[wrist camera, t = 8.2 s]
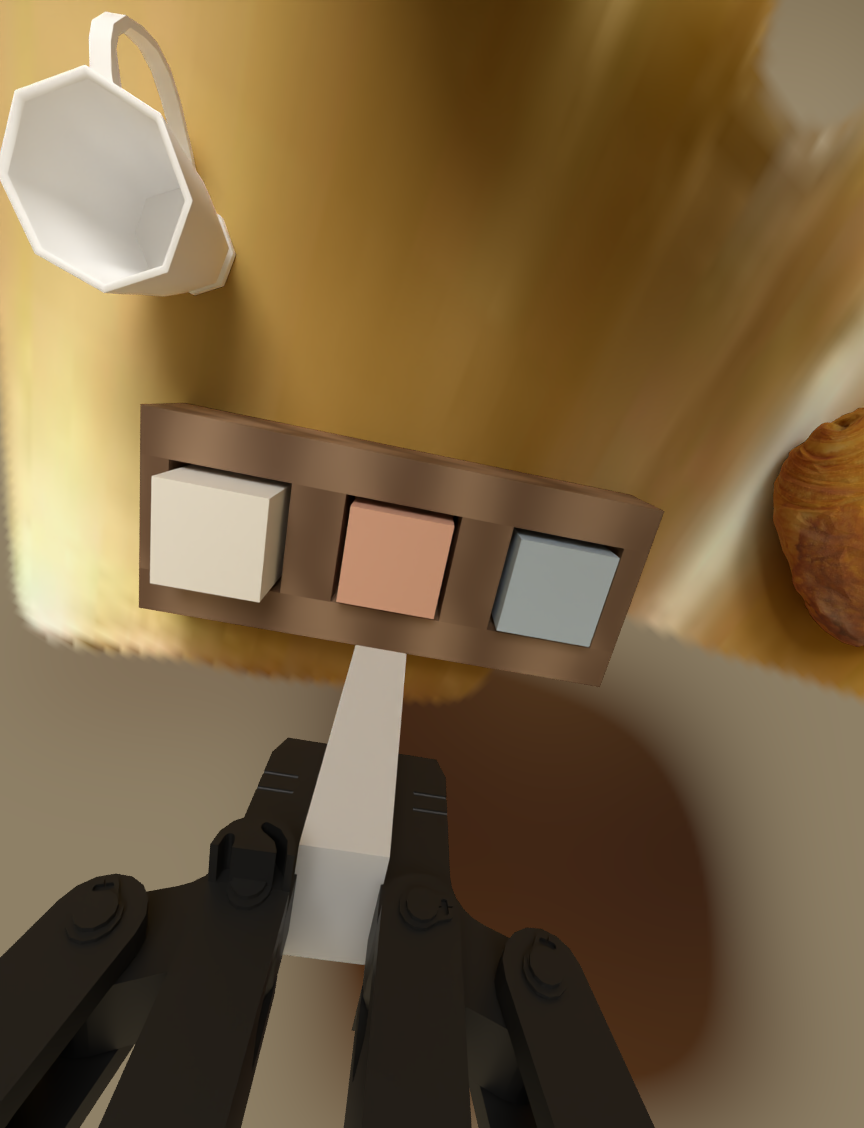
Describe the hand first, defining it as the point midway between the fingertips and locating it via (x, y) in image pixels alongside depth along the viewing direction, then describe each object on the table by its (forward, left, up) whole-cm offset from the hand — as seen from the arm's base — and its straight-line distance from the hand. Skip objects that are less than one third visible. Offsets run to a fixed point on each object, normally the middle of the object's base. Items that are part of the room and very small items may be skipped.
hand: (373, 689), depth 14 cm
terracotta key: (0, 0, -16) cm, 16 cm away
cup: (-20, +1, -17) cm, 26 cm away
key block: (0, 0, -17) cm, 17 cm away
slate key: (+7, +6, -16) cm, 19 cm away
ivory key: (-6, -7, -15) cm, 17 cm away
